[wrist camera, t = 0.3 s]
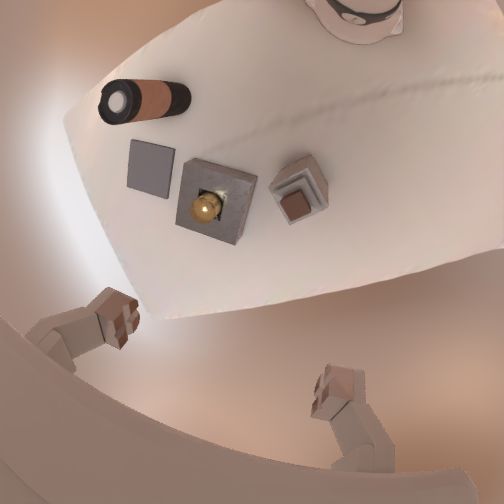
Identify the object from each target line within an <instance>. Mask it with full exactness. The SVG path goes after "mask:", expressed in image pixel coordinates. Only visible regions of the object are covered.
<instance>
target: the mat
mask: <svg viewBox="0 0 504 504" xmlns="http://www.w3.org/2000/svg"><path fill="white" fill-rule="evenodd" d="M174 155H175V149H174V148H170V147H165V146H161V145H157V144H152V143H148V142H143V141H138V140H131V143H130V153H129V163H128V176H127V187H129V188H133V189H136V190H139V191H142V192H145V193H149V194H152V195H155V196H158V197H161V198H164V199H168V198H169V190H170V182H171V175H172V168H173V161H174Z"/></svg>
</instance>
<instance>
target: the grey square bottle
mask: <svg viewBox="0 0 504 504" xmlns="http://www.w3.org/2000/svg"><path fill="white" fill-rule="evenodd" d="M268 188H269V190H270V191H271V193H272V195H273V197H274V199H275V201H276V202H277V204H278V206H279V207H280V209H281V211H282V213H283V214H284V216H285V218H286V220H287V221H288V223H289V225H291V224H293V223H295V222H297V221H300V220H302V219H304V218H306V217H309V216H311V215H313V214H315V213H317V212H320V211H322V210H324V209H326V208H328V184H327V182H326V180H325V178H324V176H323V174H322V172H321V170H320V169H319V167H318V165H317V163H316V161H315V159H314V157H313V156H312V154H311V155H309V156H307V157H305V158H303V159H301V160H299V161H297V162H295V163H293V164H291V165H289V166H287V167H285V168H283V169H282V170H281V171H280V172H279V174H278V175H277V176H276V178H275V179H274V180H273V182H272V183H271V184H270V186H269V187H268Z"/></svg>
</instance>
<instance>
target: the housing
mask: <svg viewBox="0 0 504 504" xmlns="http://www.w3.org/2000/svg"><path fill="white" fill-rule="evenodd" d="M256 180H257V176H255V175H251V174H248V173H245V172H241V171H238V170H235V169H231V168H228V167H224V166H221V165H217V164H214V163H210V162H207V161H203V160H199V159H196V158H194V159H192V160H190V161H188V162H185V163H184V167H183V173H182V179H181V186H180V192H179V199H178V207H177V214H176V223H175V224H176V225H179V226H181V227H184V228H187V229H190V230H193V231H196V232H198V233H201V234H204V235H207V236H210V237H212V238H215V239H218V240H221V241H224V242H227V243H229V244H232V245H236V243H237V242H238V240H239V239H240V237H241V235H242V232H243V228H244V225H245V221H246V217H247V213H248V209H249V206H250V202H251V198H252V195H253V191H254V187H255V183H256ZM207 191H211V192H214V193H217V194H220V195H223V196H225V200H224V205H223V209H222V211H221V212H220V213H219V214H218V215H217V216H216V217H215V218H214V219H213V220H212V221H211V222H209V223H207V224H200V223H198V222H196V221H195V220H194V219H193V218H192V216H191V214H190V206H191V204H192V202H193V201H195V200H196V199H197V198H199V197H200V196H201V195H203V194H204V193H205V192H207Z"/></svg>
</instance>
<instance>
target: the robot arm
mask: <svg viewBox="0 0 504 504" xmlns="http://www.w3.org/2000/svg"><path fill="white" fill-rule="evenodd" d="M305 2H306V4H307V5H308V6H309V7H310V8H312V9H313V10H314V11H315V12H316V14H317V16H318V18H319V20H320V22H321V23H322V25H323V26H324V27H325V28H326V29H327V30H328V31H329V32H330V33H331V34H333V35H334V36H336V37H337V38H339V39H341V40H344V41H346V42H349V43H354V44H372V43H376V42H378V41H380V40H382V39H383V38H385V37H387V36H393V35H399V34H401V33H402V31H403V11H402V0H305ZM137 307H138V301H137V300H136V299H134V298H132V297H130V296H128V295H125V294H123V293H121V292H119V291H117V290H115V289H113V288H110V287H107V288H105V289H104V290H103V291H102V292H101V293H100V294H99V295H98V296H97V297H96V298H95V299H94V300H93V301H92V302H91V303H90V304H89V305H88V306H87V307H86V308H85V307H80V308H77V309H73V310H70V311H67V312H63V313H60V314H57V315H54V316H50V317H47V318H44V319H41V320H40V321H39V322H38V323H37V324H36V325H35V326H34V327H33V328H32V329H31V330H30V331H29V332H28V333H27V334H26V335H25V336H23V335H22V334H21V333H19V331H17V330H16V329H15V328H14V327H13V326H12V325H11V324H10V323H9V322H8V321H7V320H5V319H4V318H3V317H2V316H1V315H0V504H478V492H477V488H476V486H475V485H474V483H473V482H472V480H471V479H470V477H469V476H468V474H467V473H466V472H465V471H464V470H463V469H461V468H454V469H447V470H438V471H428V472H412V473H395V445H394V444H393V442H392V440H391V439H390V437H389V435H388V434H387V432H386V431H385V429H384V428H383V426H382V424H381V423H380V421H379V420H378V418H377V416H376V415H375V413H374V412H373V410H372V408H371V407H370V405H369V404H366V400H365V399H366V397H365V396H366V394H365V372H364V370H360V369H355V368H351V367H347V366H342V365H337V364H333V363H329V364H327V366H326V367H325V373H323V374H321V375H320V377H319V379H318V380H317V383H316V386H315V391H314V396H315V397H316V400H315V401H314V403H313V404H312V411H311V417H312V418H317V419H321V420H326V421H330V425H331V427H332V429H333V432H334V434H335V436H336V439H337V441H338V443H339V446H340V448H341V451H342V453H343V456H344V457H342V458H341V459H339V460H337V461H336V462H334V463H333V464H332V465H331V470H328V469H320V468H313V467H307V466H301V465H295V464H289V463H285V462H280V461H275V460H271V459H266V458H262V457H258V456H254V455H250V454H246V453H243V452H239V451H236V450H233V449H229V448H226V447H223V446H220V445H217V444H214V443H211V442H208V441H205V440H202V439H200V438H197V437H194V436H192V435H189V434H186V433H184V432H181V431H179V430H177V429H174V428H172V427H169V426H167V425H165V424H163V423H160V422H158V421H156V420H154V419H152V418H149V417H147V416H145V415H143V414H141V413H139V412H137V411H135V410H133V409H131V408H130V407H128V406H126V405H124V404H122V403H120V402H118V401H116V400H115V399H113V398H111V397H109V396H107V395H106V394H104V393H102V392H101V391H99V390H98V389H96V388H94V387H93V386H91V385H89V384H88V383H86V382H85V381H83V380H82V379H80V378H79V377H77V376H76V375H74V373H75V371H76V366H75V365H74V362H73V361H72V359H74V358H76V357H78V356H80V355H82V354H84V353H86V352H88V351H90V350H92V349H94V348H96V347H98V346H101V345H103V344H105V343H107V344H109V345H111V346H113V347H115V348H117V349H119V350H121V348H122V347H123V346H124V344H125V343H126V342H127V341H128V335H129V334H132V333H134V331H135V330H136V329H137V327H138V324H139V320H140V315H139V312H138V311H137Z"/></svg>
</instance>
